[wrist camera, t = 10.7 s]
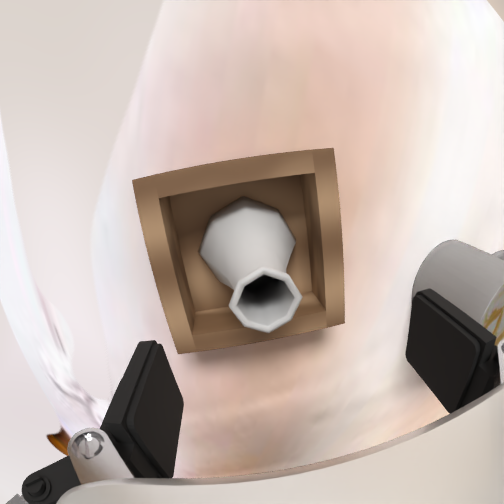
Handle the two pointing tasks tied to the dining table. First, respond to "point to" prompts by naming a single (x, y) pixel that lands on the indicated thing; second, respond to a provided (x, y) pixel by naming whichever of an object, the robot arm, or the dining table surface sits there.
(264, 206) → the flask
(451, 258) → the coffee mug
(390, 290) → the dining table surface
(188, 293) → the walnut well
